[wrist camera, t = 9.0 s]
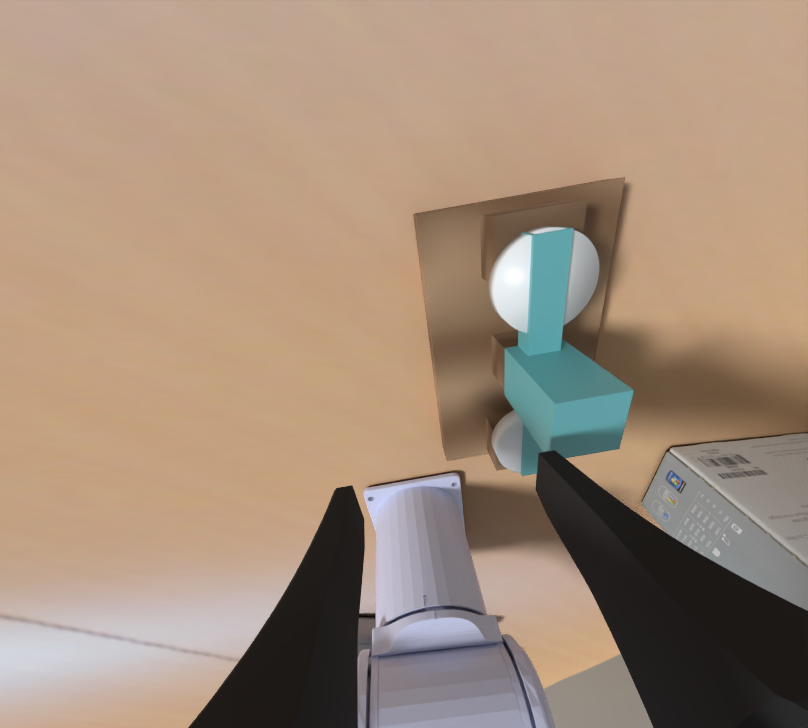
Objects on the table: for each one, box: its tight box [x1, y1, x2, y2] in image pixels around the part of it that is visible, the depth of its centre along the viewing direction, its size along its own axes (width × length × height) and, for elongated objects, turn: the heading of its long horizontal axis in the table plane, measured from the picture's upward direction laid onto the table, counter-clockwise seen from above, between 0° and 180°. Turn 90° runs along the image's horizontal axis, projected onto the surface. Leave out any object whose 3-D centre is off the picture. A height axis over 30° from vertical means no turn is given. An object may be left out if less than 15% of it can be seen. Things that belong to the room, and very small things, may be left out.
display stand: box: [414, 177, 625, 470], centre depth 18 cm, size 16×10×4 cm, turn 9°
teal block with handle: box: [488, 226, 634, 476], centre depth 14 cm, size 14×5×5 cm, turn 9°
